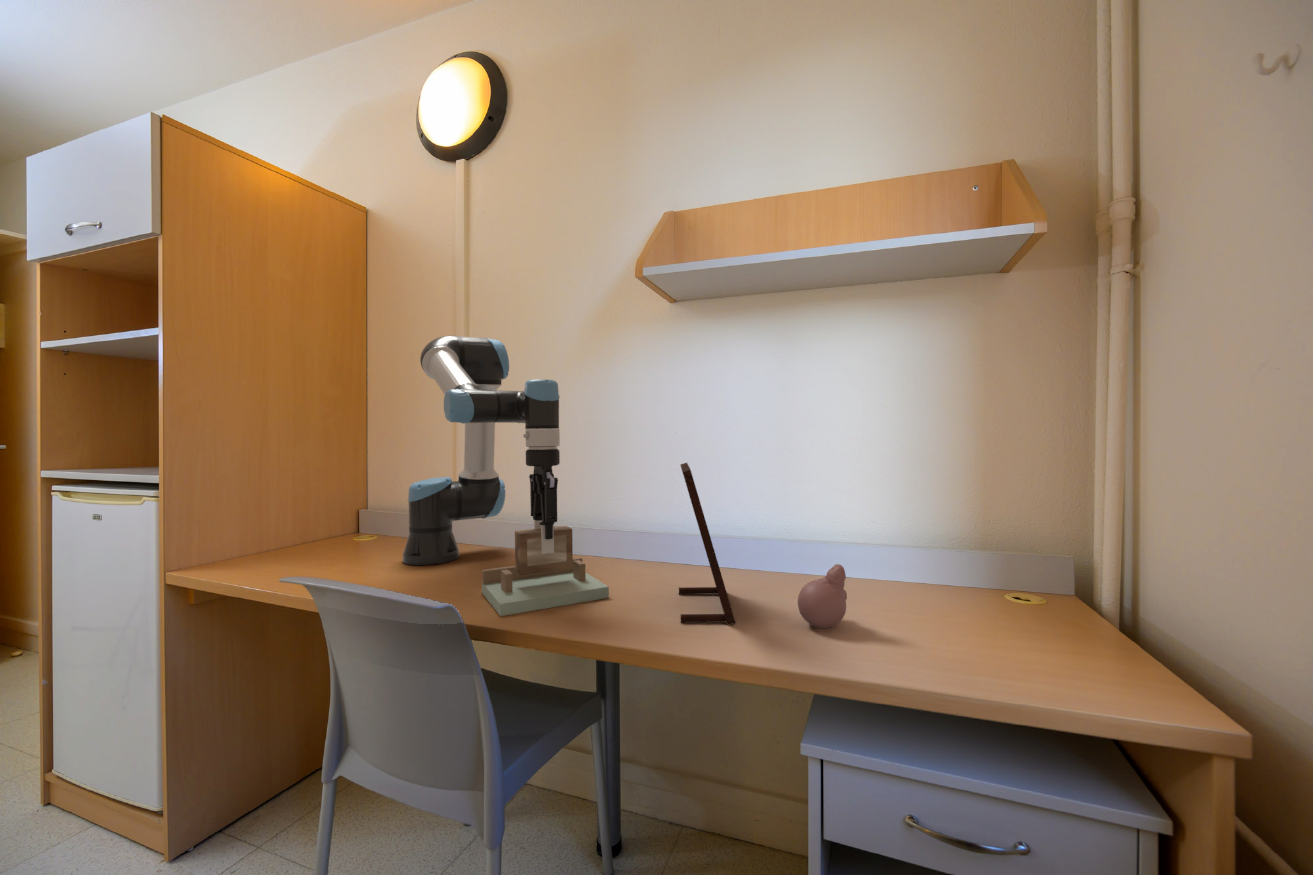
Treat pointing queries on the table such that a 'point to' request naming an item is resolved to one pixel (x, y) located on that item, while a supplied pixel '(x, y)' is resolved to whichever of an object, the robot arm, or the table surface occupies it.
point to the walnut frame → (530, 551)
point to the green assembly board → (540, 588)
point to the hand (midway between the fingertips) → (544, 550)
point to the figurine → (824, 599)
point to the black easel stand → (712, 560)
